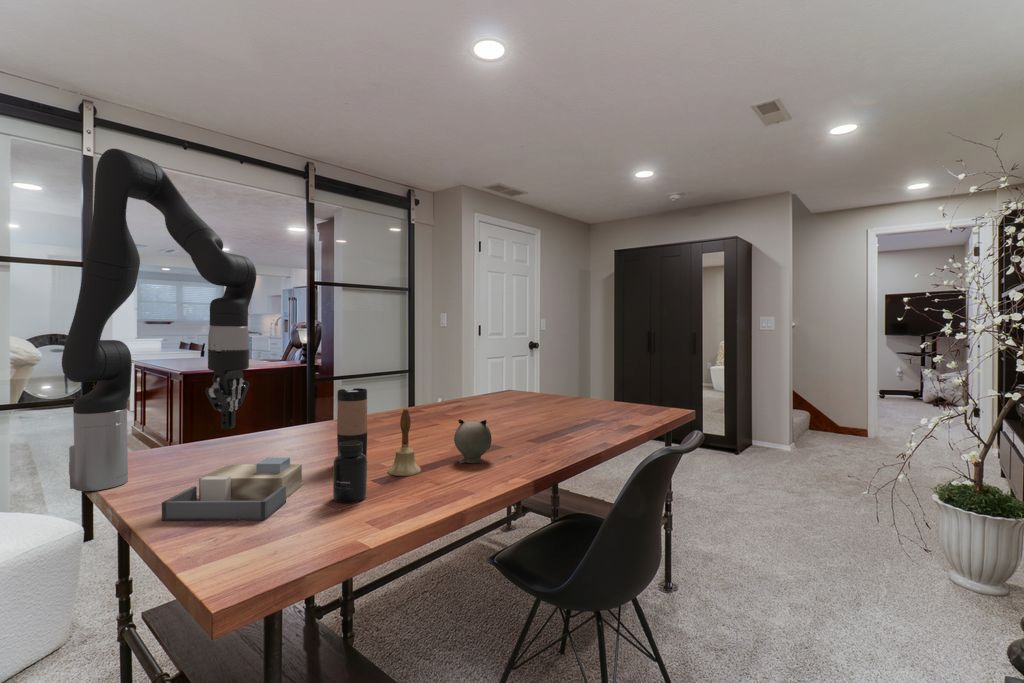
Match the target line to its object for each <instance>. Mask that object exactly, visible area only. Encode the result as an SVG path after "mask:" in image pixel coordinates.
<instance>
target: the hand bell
mask: <svg viewBox="0 0 1024 683" xmlns="http://www.w3.org/2000/svg"><path fill="white" fill-rule="evenodd" d="M409 412H410V411H409V409H408V408H405V409H402V413H401V416H400V419H399V420H400V423H399V424H400V430H401V447H400V448H399V449H396V451H395V457H394V461H393V463H392V465H391V467H389V469H388V470H387V473H388V474H389V475H391V476H396V477H409V476H414V475H418V474H419V473H421V472H422V469H421V467H420V466H419V465H418V464H417V462H416V458H415V452H414V449H413V448H411V447H410V446H409V433H410V429H411V422H412V421H411V420H412V419H411V415H410V413H409Z"/></svg>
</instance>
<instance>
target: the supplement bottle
mask: <svg viewBox="0 0 1024 683" xmlns="http://www.w3.org/2000/svg"><path fill="white" fill-rule="evenodd" d="M362 451H363V448H362V442H361V441H344V442H341V443H339V453H340V454H339V455H338V454H337V456H335V458H334V459H333V471H332V472H333V474H332V476H333V482H332V483H333V484H332V489H333V490H332V498H333V501H335V502H336V503H340V504H352V502H354V503H358V502H360V500H361V501H363V500H364V499H365V498H366V497H367V487H368V486H367V485H368V482H367V481H368V476H367V475H368V459H367V458H368V457H367V458H366V456H365V455H364V454H362V453H361V452H362ZM362 499H363V500H362ZM357 501H358V502H357Z"/></svg>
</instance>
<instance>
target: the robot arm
mask: <svg viewBox="0 0 1024 683" xmlns="http://www.w3.org/2000/svg"><path fill="white" fill-rule="evenodd" d="M129 198H131V199H135V200H138V201H145V203H148V204H150V205H151V206H153V207H154V208H155V209H156V210H158V211H159V212H160V213H161V214H162V215H163V217H164V223H165V227H166V230H167V232H168V234H169V236H171V237H172V239H173V240H174V241H175V242H176V243H177V244H178V245H179V246H180V247H181V248H182V249H183V251H185V252H186V253H187V254H188V255H189V256H190V258H191V260H192V263H193V264H194V266H195V268H196V270H197V271H198V273H199V275H200V276H201V277H202V278H203V279H204V280H205V281H207V282H208V283H211V284H212V285H215V286H219V287H220V286H221V287H225V289H224V293H223V295H222V297H218V298H214V299H212V300H211V302H210V303H209V328H208V329H209V330H208V334H207V369H208V370H209V371H213V372H214V373H213V377H212V383H213V384H212V385H211V387H206V388H205V390H204V393H205V396H206V397H207V399H208V400H209V403H210V404H211V406H212V408H213V410H214V411H219V412H220V413H221V414H220V415H221V416H220V427H221V429H223V430H231V429H233V428H235V427H236V414H237V413H236V411H237V410H238V409H239V406H240V407H241V406H243V403H244V400H245V397H246V396H247V392H248V390H249V387H250V381H245V380H244V374H243V373H244V372H243V371H245V370H246V371H247V370H248V369H249V367H250V335H249V306H250V304H251V299H252V297H253V293H254V289H255V287H256V283H257V269H256V266H255V264H254V262H253V261H252V260H251V259H250V258H249V257H246V256H245V255H239V254H235V253H230V252H225V251H224V241H223V240H222V238H221V237H220V236H219V234H217V232H215V231H214V229H213V228H212V227H210V226H209V225H208V223H206V222H205V220H204V219H202V218H201V216H199V215H198V214H197V213H196V212H195V210H194V209H192V207H191V206H190V205H189V204H188V202H187V200H186V199H185V198H184V196H183V195H182V194H181V193H180V191H179V190H178V188H177V187H176V186H175V184H174V183H173V182H172V180H171V179H170V177H169V175H167V173H166V171H164V170H163V168H162V167H161V166H160V165H159V164H158V163H156V162H155V161H152V160H150V159H148V158H145V157H143V156H139V155H136V154H135V153H134V154H133V153H131V152H128V151H126V150H122V149H120V148H109V149H107V150H105V151H104V152H103V153H102V154H101V155H100V158H99V159H98V162H97V165H96V170H95V177H94V191H93V212H92V217H91V218H92V220H91V226H90V233H89V240H88V245H87V247H86V253H85V256H84V257H85V258H84V262H83V266H82V267H83V268H82V272H81V273H82V274H81V279H80V280H81V281H80V287H79V293H78V299H77V303H76V308H75V311H74V314H73V318H72V322H71V325H70V328H69V332H68V334H67V337H66V341H65V344H64V347H63V349H62V350H63V352H62V356H61V367H62V368H61V369H62V373H63V374H64V375H63V376H65V378H66V379H67V380H69V381H70V382H73V383H88V382H89V383H91V382H96V385H95V386H94V388H92V390H91V391H89V392H87V393H86V394H83V395H82V396H79V397H77V398H76V399H75V400H73V403H72V404H73V405H72V409H73V445H71V446H69V448H68V453H69V454H68V457H69V465H68V466H69V489H70V490H75V491H79V492H92V491H94V492H95V491H101V490H106V489H112V488H115V487H119V486H121V485H124V484H126V483H128V481H129V466H128V465H129V464H128V463H129V462H128V460H129V458H128V454H129V453H128V452H129V451H128V450H129V449H128V401H129V399H130V396H131V386H132V384H131V383H132V371H133V370H132V367H133V366H132V361H133V360H132V354H131V351H130V349H129V346H128V345H127V344H126V343H124V342H123V341H121V340H117V339H102V338H101V337H102V334H103V331H104V328H105V326H106V324H107V322H108V320H109V319H110V318H111V317H112V315H114V314H115V312H116V311H117V310H118V309H119V308H120V307H121V306H123V304H124V303H125V302H126V301H127V300H128V298H130V296H132V293H133V292H134V290H135V289H136V287H137V281H138V276H139V272H140V266H141V257H140V253H139V250H138V248H137V245H136V242H135V241H134V239H133V236H132V234H131V232H130V229H129V227H128V226H129V225H128V221H127V205H128V200H129Z"/></svg>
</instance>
